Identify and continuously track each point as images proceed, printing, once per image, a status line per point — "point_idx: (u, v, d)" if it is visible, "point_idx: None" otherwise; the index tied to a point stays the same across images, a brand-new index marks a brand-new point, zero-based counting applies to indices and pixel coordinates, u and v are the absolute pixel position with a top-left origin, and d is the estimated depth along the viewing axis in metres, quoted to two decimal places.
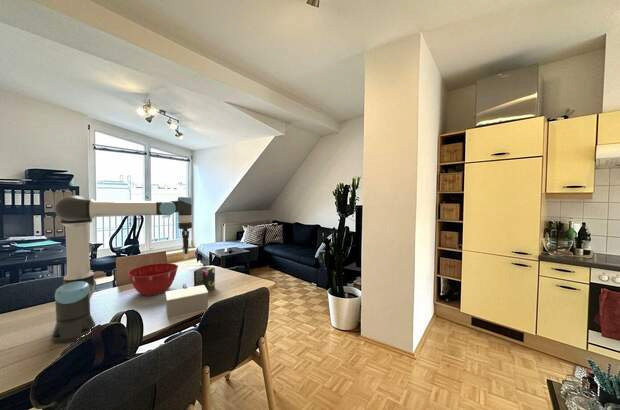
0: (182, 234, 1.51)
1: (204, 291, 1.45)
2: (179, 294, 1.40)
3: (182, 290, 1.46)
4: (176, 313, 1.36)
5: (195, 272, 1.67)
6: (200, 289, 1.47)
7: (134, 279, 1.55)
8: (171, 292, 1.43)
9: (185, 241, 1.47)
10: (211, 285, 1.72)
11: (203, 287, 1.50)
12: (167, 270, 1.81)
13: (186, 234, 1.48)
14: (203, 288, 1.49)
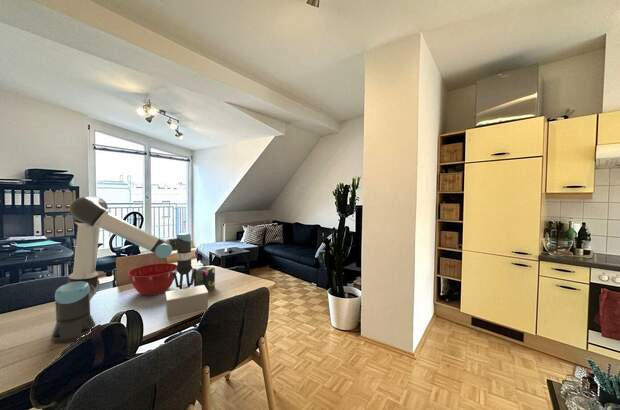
0: None
1: (204, 291, 1.45)
2: (179, 294, 1.40)
3: (182, 290, 1.46)
4: (176, 313, 1.36)
5: (195, 272, 1.67)
6: (200, 289, 1.47)
7: (134, 279, 1.55)
8: (171, 292, 1.43)
9: (175, 281, 1.50)
10: (211, 285, 1.72)
11: (203, 287, 1.50)
12: (167, 270, 1.81)
13: None
14: (203, 288, 1.49)
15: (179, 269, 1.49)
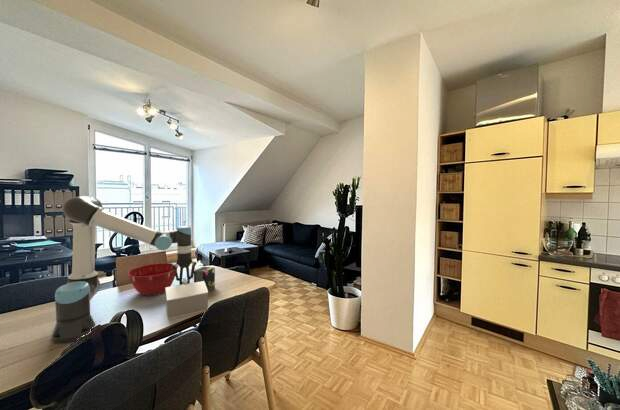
0: None
1: (204, 290, 1.45)
2: (179, 293, 1.40)
3: (182, 287, 1.45)
4: (176, 313, 1.36)
5: (195, 272, 1.67)
6: (200, 287, 1.47)
7: (134, 279, 1.55)
8: (171, 289, 1.42)
9: (175, 274, 1.49)
10: (211, 285, 1.72)
11: (203, 284, 1.50)
12: (167, 270, 1.81)
13: None
14: (203, 286, 1.49)
15: (179, 262, 1.49)
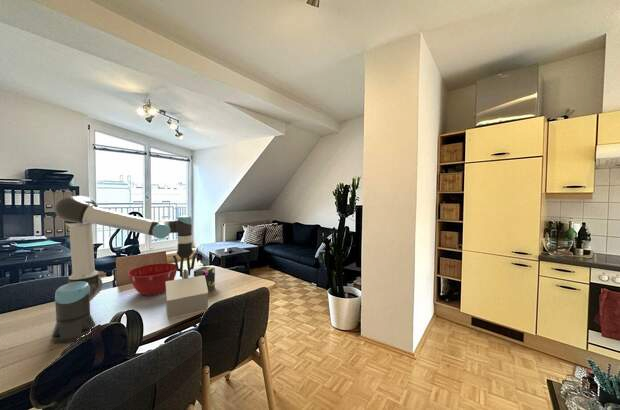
0: None
1: (204, 290, 1.44)
2: (179, 291, 1.39)
3: (182, 282, 1.44)
4: (176, 313, 1.36)
5: (195, 272, 1.67)
6: (200, 285, 1.46)
7: (134, 279, 1.55)
8: (171, 284, 1.41)
9: (175, 264, 1.46)
10: (211, 285, 1.72)
11: (203, 281, 1.49)
12: (167, 270, 1.81)
13: (174, 258, 1.45)
14: (203, 283, 1.48)
15: (179, 252, 1.46)
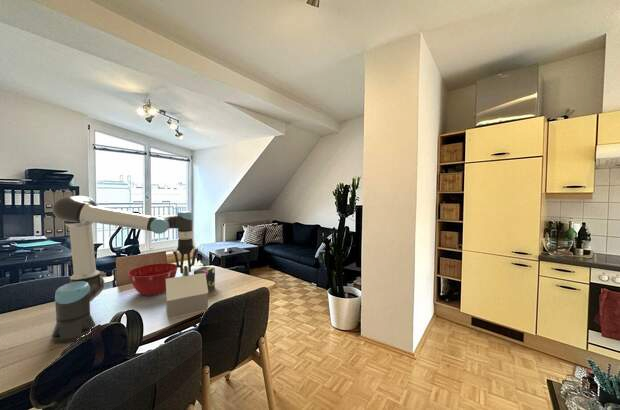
0: None
1: (204, 290, 1.44)
2: (179, 290, 1.38)
3: (183, 280, 1.42)
4: (176, 313, 1.36)
5: (195, 272, 1.67)
6: (201, 284, 1.45)
7: (134, 279, 1.55)
8: (171, 282, 1.39)
9: None
10: (211, 285, 1.72)
11: (204, 279, 1.48)
12: (167, 270, 1.81)
13: (174, 254, 1.43)
14: (204, 282, 1.47)
15: (180, 248, 1.43)
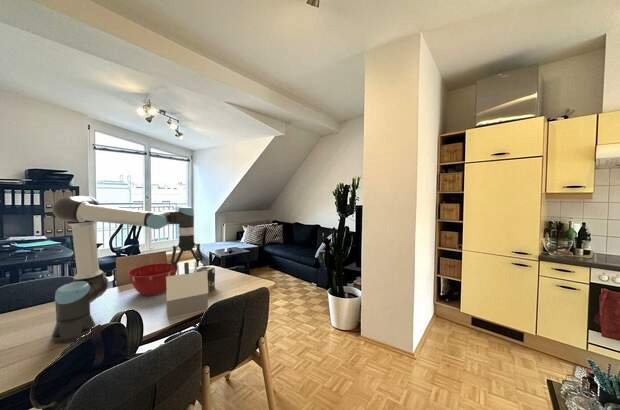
0: None
1: (205, 290, 1.43)
2: (180, 289, 1.37)
3: (183, 279, 1.39)
4: (176, 313, 1.36)
5: None
6: (201, 283, 1.43)
7: (134, 279, 1.55)
8: (172, 281, 1.36)
9: (172, 256, 1.38)
10: (211, 285, 1.72)
11: (205, 278, 1.45)
12: (167, 270, 1.81)
13: (173, 249, 1.37)
14: (205, 281, 1.44)
15: (181, 245, 1.39)
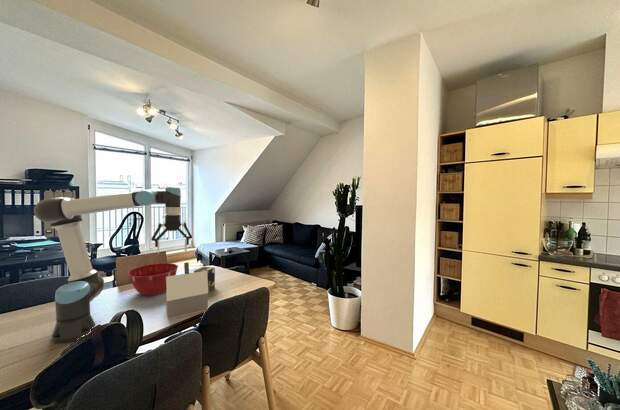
0: None
1: (205, 290, 1.43)
2: (180, 289, 1.37)
3: (183, 279, 1.39)
4: (176, 313, 1.36)
5: None
6: (201, 283, 1.43)
7: (134, 279, 1.55)
8: (172, 281, 1.36)
9: (154, 233, 1.38)
10: (211, 285, 1.72)
11: (205, 278, 1.45)
12: (167, 270, 1.81)
13: (158, 226, 1.38)
14: (205, 281, 1.44)
15: (167, 225, 1.40)
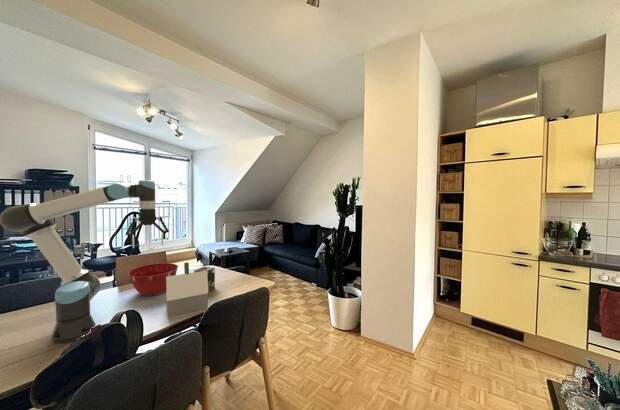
0: None
1: (205, 290, 1.43)
2: (180, 289, 1.37)
3: (183, 279, 1.39)
4: (176, 313, 1.36)
5: None
6: (201, 283, 1.43)
7: (134, 279, 1.55)
8: (172, 281, 1.36)
9: None
10: (211, 285, 1.72)
11: (205, 278, 1.45)
12: (167, 270, 1.81)
13: None
14: (205, 281, 1.44)
15: (141, 219, 1.38)
